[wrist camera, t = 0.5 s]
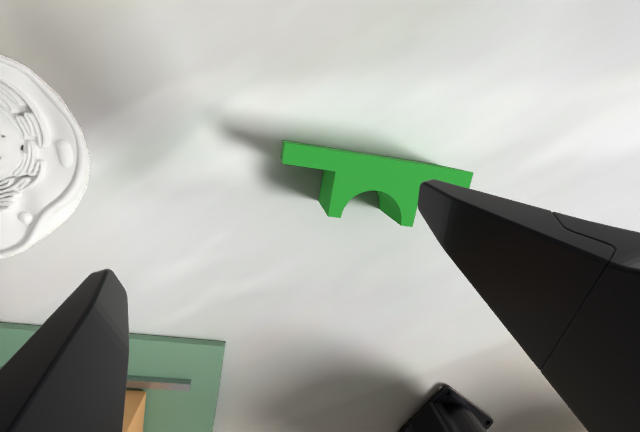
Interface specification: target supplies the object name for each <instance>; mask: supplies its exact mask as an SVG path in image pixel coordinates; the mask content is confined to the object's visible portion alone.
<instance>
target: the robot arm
mask: <svg viewBox="0 0 640 432" xmlns="http://www.w3.org/2000/svg"><path fill="white" fill-rule="evenodd" d="M418 209H419V211H420V213H421V214H422V216H423V218H424V219H425V221H426V222H427V224H428V226H429V227H430V229H431V230H432V232H433V234H434V235H435V237H436V238H437V240H438V242H439V243H440V245H441V246H442V247H443V249H444V250H445V251H446V253H447V254H448V255H449V257H450V258H451V259H452V260H453V262H454V263H455V264H456V265H457V267H458V268H459V269H460V270H461V272H462V273H463V274H464V275H465V277H466V278H467V279H468V280H469V282H470V283H471V284H472V286H473V287H474V288H475V289H476V291H477V292H478V293H479V294H480V296H481V297H482V298H483V299H484V301H485V302H486V303H487V304H488V306H489V307H490V308H491V309H492V311H493V312H494V313H495V315H496V316H497V317H498V318H499V320H500V321H501V322H502V323H503V325H504V326H505V327H506V328H507V330H508V331H509V332H510V333H511V335H512V336H513V337H514V338H515V340H516V341H517V342H518V343H519V345H520V346H521V347H522V349H523V350H524V351H525V352H526V354H527V355H528V356H529V357H530V359H531V360H532V361H533V362H534V364H535V365H536V366H537V367H538V369H539V370H541V373H542V374H543V375H544V377H545V378H546V379H547V380H548V382H549V383H550V384H551V385H552V387H553V388H554V389H555V390H556V392H557V393H558V394H559V395H560V397H561V398H562V399H563V400H564V402H565V403H566V404H567V405H568V407H569V408H570V409H571V410H572V412H573V413H574V414H575V416H576V417H577V418H578V419H579V421H580V422H581V423H582V424H583V426H584V427H585V428H586V429H587V431H588V432H640V232H635V231H630V230H626V229H621V228H617V227H612V226H608V225H604V224H600V223H595V222H591V221H587V220H583V219H579V218H575V217H571V216H568V215H564V214H560V213H557V212H551V211H549V210H546V209H542V208H538V207H535V206H531V205H527V204H524V203H520V202H516V201H513V200H509V199H505V198H502V197H498V196H494V195H491V194H487V193H483V192H480V191H476V190H472V189H469V188H465V187H461V186H458V185H454V184H450V183H447V182H443V181H439V180H436V179H431V180H427V181H424V182H422V183H421V184H420V187H419V196H418ZM128 362H129V325H128V302H127V294H126V291H125V289H124V287H123V286H122V284H121V283H120V281H119V280H118V278H117V277H116V275H115V274H114V272H113V271H112V270H110V269H104V270H101V271H97V272H94V273H92V274H90V275H89V276H88V277H87V278H86V279H85V280H84V281H83V282H82V284H81V285H80V286H79V287H78V288H77V289H76V290H75V291H74V292H73V293H72V294H71V295H70V296H69V297H68V298H67V299H66V300H65V301H64V302H63V304H62V305H61V306H60V307H59V308H58V309H57V310H56V311H55V312H54V313H53V314H52V315H51V316H50V317H49V318H48V319H47V320H46V321H45V323H44V324H43V325H42V326H41V327H40V328H39V329H38V330H37V331H36V332H35V333H34V334H33V335H32V336H31V337H30V338H29V339H28V340H27V342H26V343H25V344H24V345H23V346H22V347H21V348H20V349H19V350H18V351H17V352H16V353H15V354H14V355H13V356H12V357H11V358H10V359H9V360H8V362H7V363H6V364H5V365H4V366H3V367H2V368H1V369H0V432H122V429H123V418H124V407H125V396H126V384H127V373H128ZM446 392H447V393H446ZM492 424H493V420H492V418H491V417H490V416H489V415H488V414H487V413H485V412H484V411H483V410H481V409H480V408H479V407H477V406H476V405H474V404H473V403H472V402H470V401H469V400H468V399H466V398H465V397H464V396H462V395H461V394H460V393H458V392H457V391H456V390H454V389H453V388H452V387H450V386H444V387H442V388H441V389H440V390H439V391H438V392H437V393H436V394H435V395H434V396H433V397H432V398H431V399H430V400H429V401H428V402H427V403H426V404H425V405H424V406H423V407H422V408H421V409H420V410H419V411H418V412H417V413H416V414H415V415H414V416H413V417H412V418H411V419H410V420H409V421H408V422H407V423H406V424H405V425H404V426H403V427H402V428H401V429H400V430H399V432H487V431H486V430H487V429H488V428H489V427H490V426H491V425H492Z"/></svg>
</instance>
